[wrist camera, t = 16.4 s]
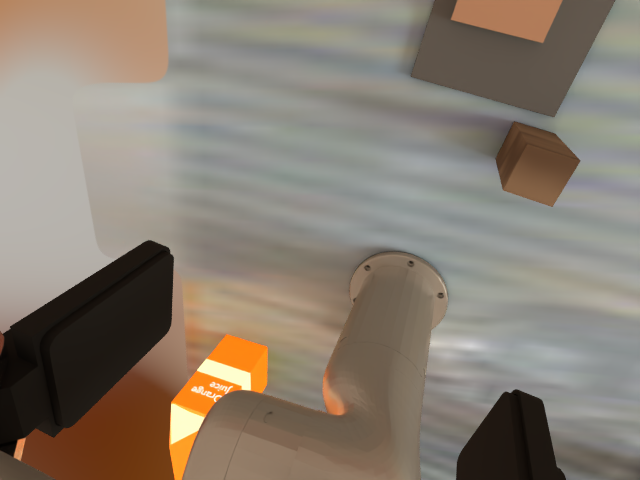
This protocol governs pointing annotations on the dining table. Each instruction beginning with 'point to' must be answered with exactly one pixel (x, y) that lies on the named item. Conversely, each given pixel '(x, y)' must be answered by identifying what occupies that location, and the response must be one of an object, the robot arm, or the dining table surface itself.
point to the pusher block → (535, 164)
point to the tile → (509, 16)
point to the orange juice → (213, 391)
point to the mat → (510, 56)
